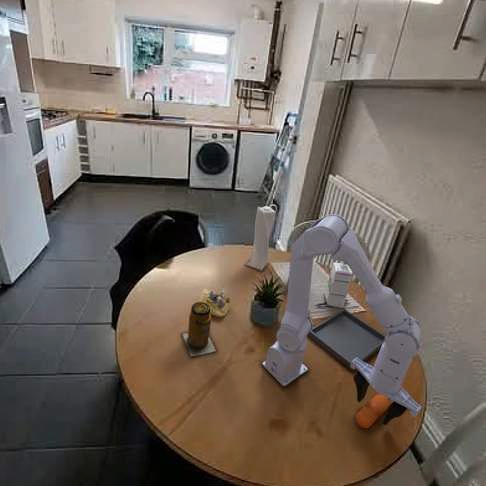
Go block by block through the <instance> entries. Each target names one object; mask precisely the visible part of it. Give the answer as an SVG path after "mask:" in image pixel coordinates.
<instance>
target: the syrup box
mask: <svg viewBox="0 0 486 486" xmlns="http://www.w3.org/2000/svg"><path fill="white" fill-rule="evenodd" d="M353 275H354V273H353V272H352V270H351V269H350V268H349V266H348V265H347V263H343V262H342V263H341V262H333V263H332V267H331V269H330V274H329V279H328V282H327V286H326V290H325V294H324V298H325V301H326V305H327V306H330V307H333V308H339V309H344V306H345V303H346V299H347V296H348V293H349V289H350V285H351V281H352V278H353Z"/></svg>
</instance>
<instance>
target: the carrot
mask: <svg viewBox="0 0 486 486" xmlns="http://www.w3.org/2000/svg"><path fill="white" fill-rule="evenodd" d="M390 401H391V399H389V398H387V397H385V396H383V395H381V394H380V393H377V394H375V395H374V397H373V398H372V399H370V400H369V401H368V402H367V403H366V404H365V405H364V406H363V407H361V409H359V411H358V412H357V413H356V415H355V421H356V423H357V424H358V426H359V427H361V428H363V429H369V428H370V427H371V426H372V425H373V424H374V423H375V422H376V421H377V420H378V419H379V418H380V417H381V416H382V415H383V414H384V412H386V410H388V407H389V406H390Z"/></svg>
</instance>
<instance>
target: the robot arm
mask: <svg viewBox="0 0 486 486" xmlns="http://www.w3.org/2000/svg"><path fill="white" fill-rule="evenodd" d="M327 255H331V257H330V259H331V260H333V261H334V260H335V261H339V262H342V263H345V264H347V265H348V266H349V268H350V269H351V271H352V273H353V275H354V277H355V278H356V279H357V281H358V282H359V284H360V285H361V287H362V288H363V289H364V291H365V292H366V296H365V303H366V304H367V307H369V310H370V311H371V313H372V314H373V316H374V318H375V319H376V320H377V322H378V324H379V325H380V327H381V329H382V330H383V331H384V333H386V335H385V336H386V337H385V342H384V343H383V344H382V346H381V348H380V349H379V352H378V354H377V357H376V360H375V361H374V365H371V364H369V363H367V362H366V361H364V362H363V361H361V360H360V359H358V358H355V359H354V360H353V361H352V363H351V366H350V367H351V368H353V369H354V370H353V371H355V370H357V372H356V373H355V374H354V375H353V382H354V384H355V389H356V401H357V402H358V403H361V402H362V401H363V400H364V399H365V398H366V396H367V392H368V390H369V386H370V387H371V388H373V390H374V391H376V393H377V394H381V395H383V396H385V397H387V398H389V399H390V401H393V402H391V403H390V404H389V407H388V408H387V413H386V415H385V417H384V418H383V420H382V424H383V425H384V426H387V425H388V424H389V423H390V422H391V421H392V420H393V419H396V418H400V417H402V416H403V415H404V414H405V412H406V411H409V415H410V416H411V417H412V418H414V419H415V418H416V417H417V416H418V414H419V413H420V411H421V409H422V406H421V405H420V404H419V403H417V402H416V400H414V398H412V397H411V395H410V394H409V393H408V392H407V391H406V390H405V388H404V387H402V384H403V382H404V380H405V377H406V375H407V373H408V371H409V368H410V366H411V363H412V361H413V358H414V357H417V356H418V355H419V353H420V348H421V337H422V328H421V326H420V322H419V321H418V320H417V319H416V318H414V317H412V316H411V315H409V314H408V312H407V310H406V309H405V308H404V305H402V302H403V298H402V297H401V295H400V294H399V293H398V294H396V293H395V292H394V290H393V289H392V288H390V287H387V286H385V285H383V283H382V282H381V280H380V278H379V276H378V275H377V273H376V271H375V269H374V267H373V265H372V264H371V262H370V260H369V258H368V256H367V255H366V253H365V250H363V247H362V246H361V244H360V242H359V239H358V237H357V234H356V233H355V231H354V230H353V229H352V228H350V225H349V223H348V221H347V220H346V219H345V218H344V217H343V216H342V215H339V214H335V213H330V214H327V215H325V216H323V217H321V218H318V219H317V220H315V222H313V223H312V224H311V225H310V226H309V227H308V228H307V229H306V230H305V231H304V232H303V233H302V234H301V235H300V236H299V237H298V238H297V239H296V240H295V241H294V242H292V244H291V247H290V259H289V271H288V277H289V282H288V281H287V296H286V309H285V311H284V312H285V313H284V315H283V317H282V319H281V322H280V327H279V329H278V330H277V332H276V337H275V338H276V341H275V343H274V344H272V345H271V346H269V348H268V349H267V351H266V358H265V360H264V361H263V362H262V366H263V367H264V368H265V370H267V371H268V373H270V374H271V375H272V376H273V377H274V378H275V379H276V381H277V382H278V383H279V384H280V385H281V386H283V387H286V386H287V385H289V384H290V383H291V382H293V381H294V380H296V379H297V378H299V377H300V376H302V375H303V374H305V373H306V372H307V371H308V370H309V369H308V367H307V366H306V365H305V364H304V363H303V362H304V357H305V354H306V350H307V346H308V339H307V336H308V333H309V331H311V329H312V328H313V327H314V326H313V325H314V322H313V320H312V317H311V310H310V309H309V304H310V295H311V284H312V276H313V275H312V274H313V266H314V258H315V257H317V256H318V257H319V256H327Z"/></svg>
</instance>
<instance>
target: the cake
mask: <svg viewBox="0 0 486 486" xmlns="http://www.w3.org/2000/svg"><path fill="white" fill-rule="evenodd" d="M216 275H217V276H218V274H216ZM224 283H225V280H223V282H222V285H221V288H220V291H219V292H215V291H213V290H210V289H208V288H202V291H201V293H200V295H199V297H198V300H197V302H205V303H207V304H208V305H209V306H210V315H211V316H215V317H220V318H222V317H224V316H226V315H227V313H228V311H229V309H230V308H231V305H232V301H231V297H228V295H224V294H225V292H226V289H224V287H223V286H224Z"/></svg>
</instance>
